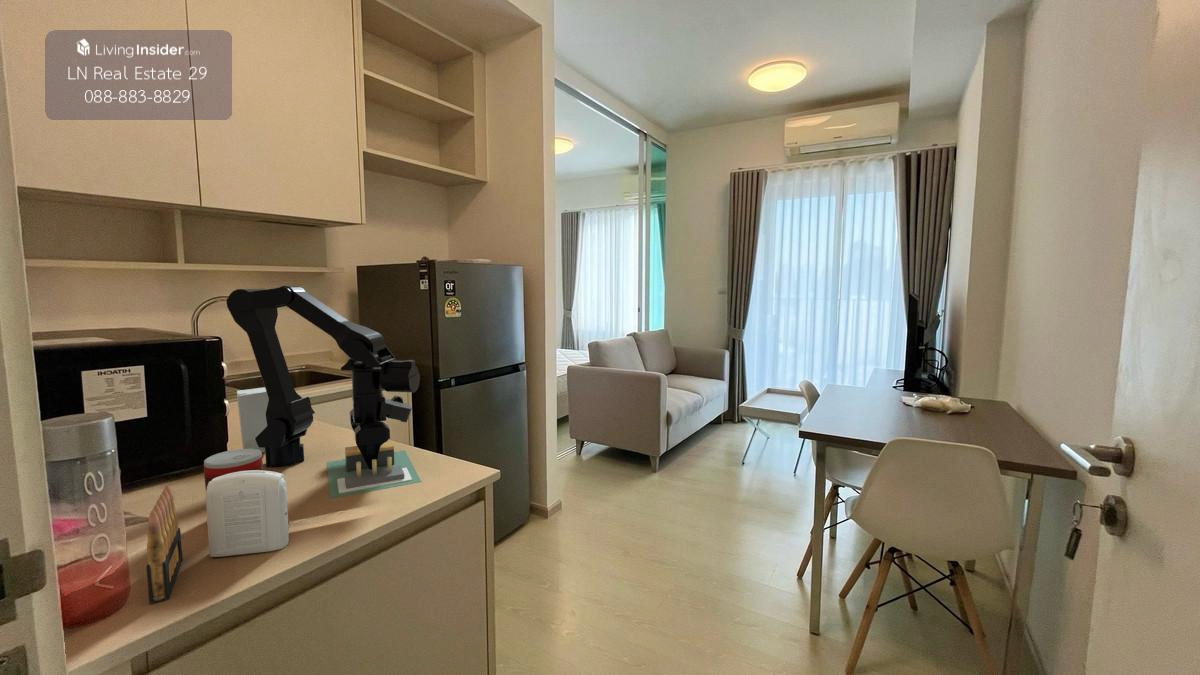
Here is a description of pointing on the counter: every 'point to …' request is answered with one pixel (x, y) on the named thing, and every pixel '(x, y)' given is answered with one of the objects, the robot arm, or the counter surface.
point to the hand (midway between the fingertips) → (369, 461)
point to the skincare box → (252, 415)
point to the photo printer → (247, 513)
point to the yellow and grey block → (355, 456)
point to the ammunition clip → (163, 548)
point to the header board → (370, 476)
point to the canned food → (232, 463)
